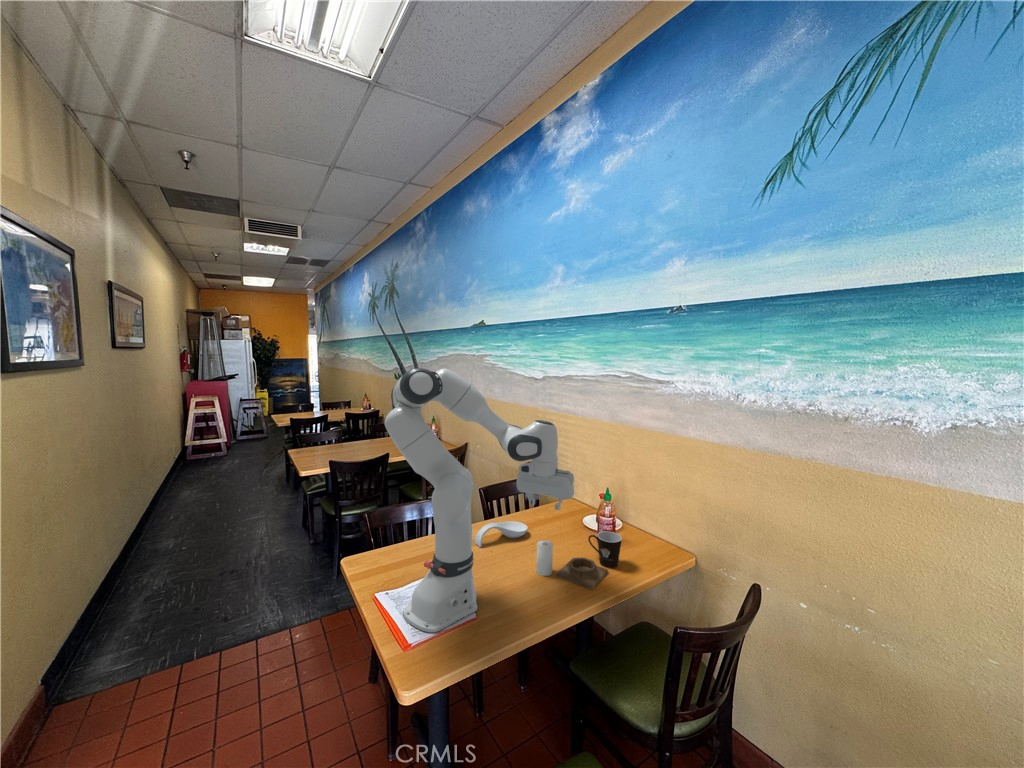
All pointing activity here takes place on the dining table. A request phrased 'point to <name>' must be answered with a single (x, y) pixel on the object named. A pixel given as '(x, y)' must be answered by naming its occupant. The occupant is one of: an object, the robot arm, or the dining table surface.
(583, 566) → the holder
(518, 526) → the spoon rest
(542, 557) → the roll
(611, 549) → the coffee mug
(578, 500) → the dining table surface
